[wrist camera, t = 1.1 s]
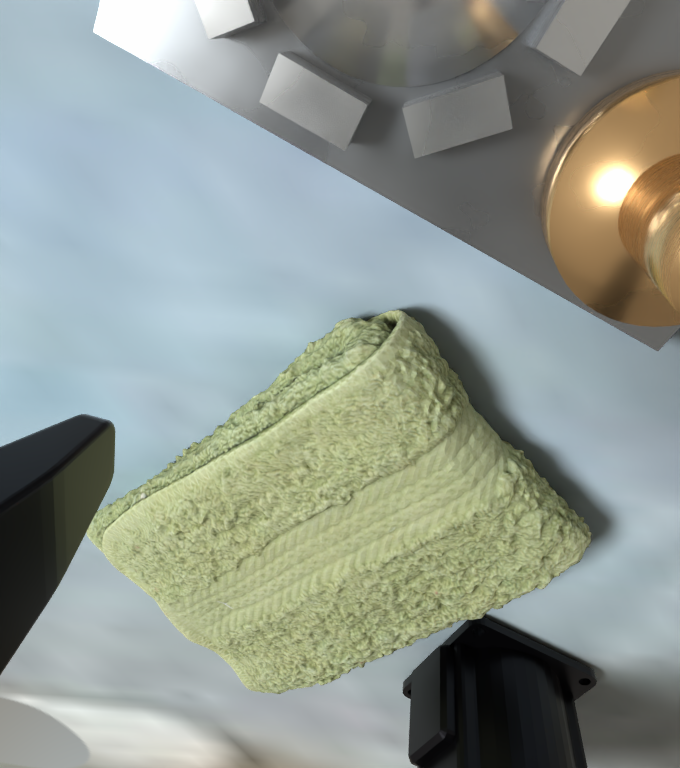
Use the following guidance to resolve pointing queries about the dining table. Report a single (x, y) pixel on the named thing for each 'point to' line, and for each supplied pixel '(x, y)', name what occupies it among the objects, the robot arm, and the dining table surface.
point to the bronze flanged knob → (621, 204)
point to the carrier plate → (419, 94)
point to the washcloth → (341, 514)
